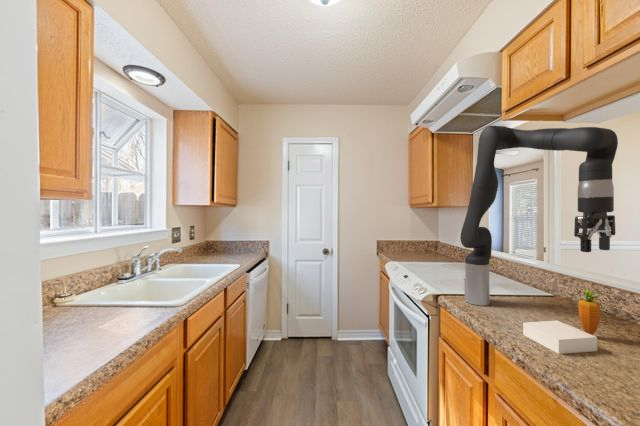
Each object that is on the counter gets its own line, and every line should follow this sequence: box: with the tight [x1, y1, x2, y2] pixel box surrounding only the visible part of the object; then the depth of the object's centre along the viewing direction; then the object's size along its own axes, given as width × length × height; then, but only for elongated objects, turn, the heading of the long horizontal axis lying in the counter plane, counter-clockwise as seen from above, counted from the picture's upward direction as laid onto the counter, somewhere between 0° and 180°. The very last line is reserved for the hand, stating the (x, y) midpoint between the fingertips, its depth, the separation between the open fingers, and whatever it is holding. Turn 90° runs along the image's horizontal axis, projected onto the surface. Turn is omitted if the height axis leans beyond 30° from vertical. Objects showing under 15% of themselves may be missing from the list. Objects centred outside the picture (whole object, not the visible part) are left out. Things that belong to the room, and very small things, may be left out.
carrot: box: [577, 289, 601, 336], centre depth 87 cm, size 5×5×15 cm
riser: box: [522, 320, 598, 355], centre depth 84 cm, size 12×12×4 cm
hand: (595, 251), depth 81 cm, fingers open, 8 cm apart
